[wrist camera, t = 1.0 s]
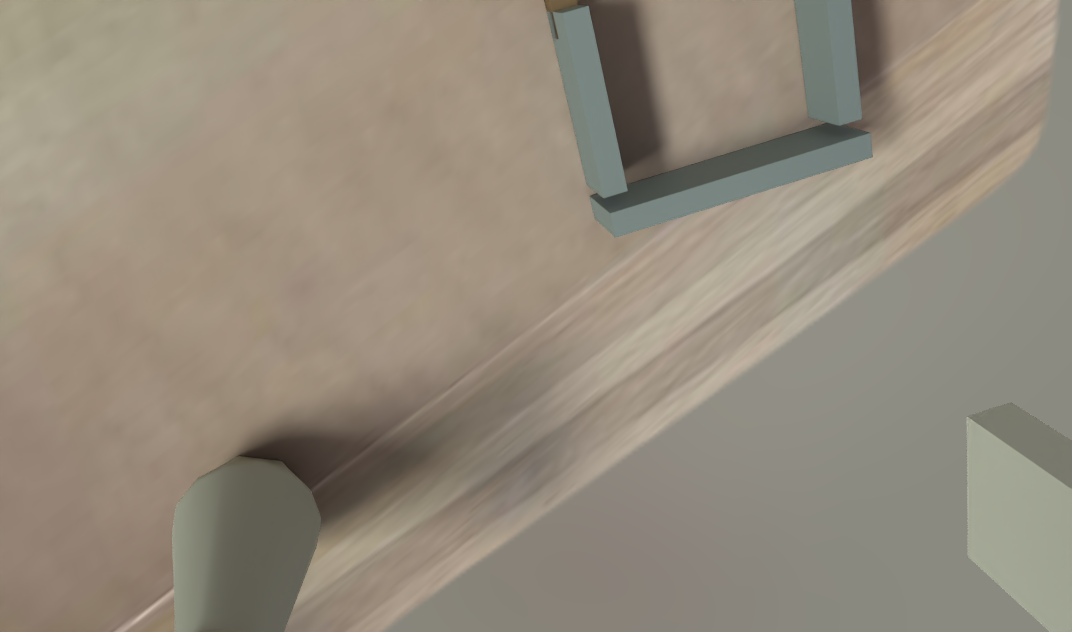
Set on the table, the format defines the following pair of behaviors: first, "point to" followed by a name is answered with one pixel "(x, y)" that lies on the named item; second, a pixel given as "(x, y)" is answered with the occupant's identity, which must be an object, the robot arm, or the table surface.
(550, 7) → the channel
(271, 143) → the table surface
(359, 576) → the table surface
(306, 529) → the salt shaker
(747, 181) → the socket
